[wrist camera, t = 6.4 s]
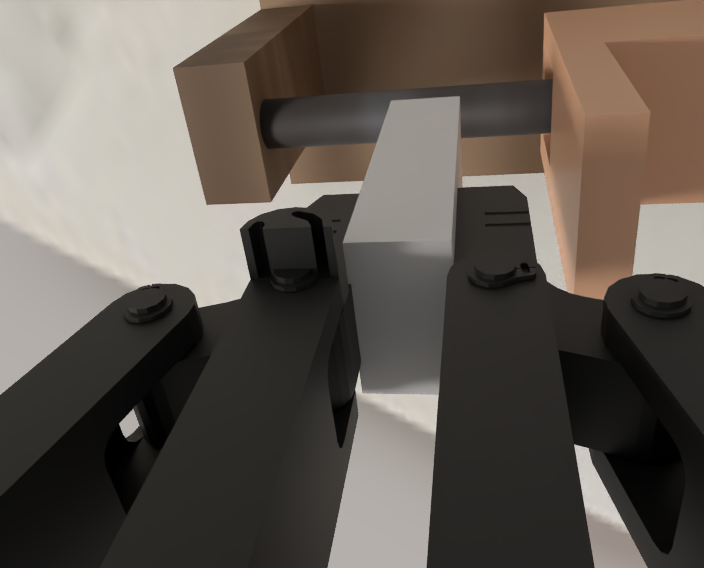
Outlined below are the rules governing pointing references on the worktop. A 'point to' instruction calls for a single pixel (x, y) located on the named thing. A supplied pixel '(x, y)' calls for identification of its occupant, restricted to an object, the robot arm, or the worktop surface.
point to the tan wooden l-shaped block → (620, 128)
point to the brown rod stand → (364, 87)
